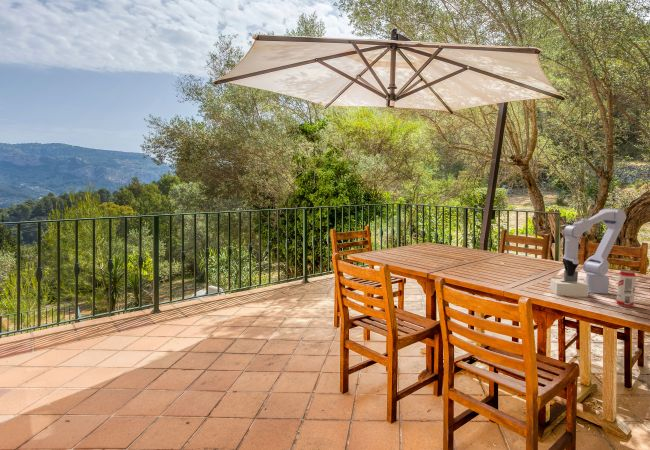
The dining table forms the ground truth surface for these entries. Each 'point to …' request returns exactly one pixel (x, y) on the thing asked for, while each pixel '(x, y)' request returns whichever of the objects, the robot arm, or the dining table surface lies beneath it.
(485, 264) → the dining table surface
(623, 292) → the beer can
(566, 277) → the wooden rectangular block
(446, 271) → the dining table surface
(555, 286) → the box
